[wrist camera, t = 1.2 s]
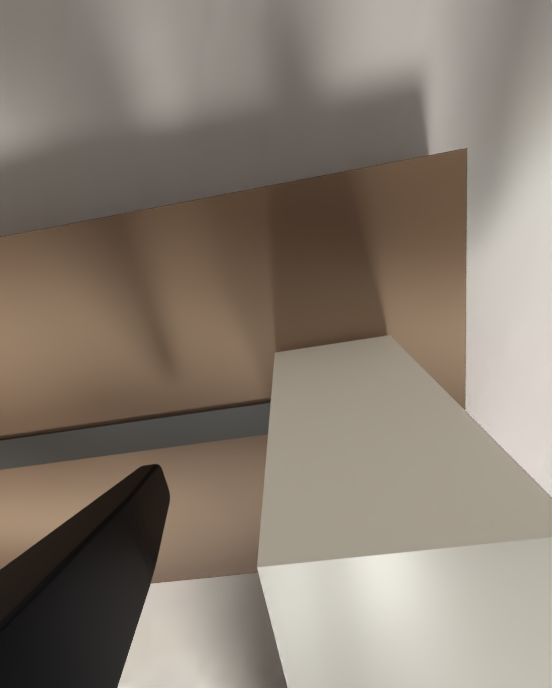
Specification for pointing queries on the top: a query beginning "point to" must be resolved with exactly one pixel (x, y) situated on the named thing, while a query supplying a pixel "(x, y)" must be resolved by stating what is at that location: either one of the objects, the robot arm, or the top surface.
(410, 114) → the top surface
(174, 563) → the fader console
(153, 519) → the robot arm
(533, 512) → the fader knob
